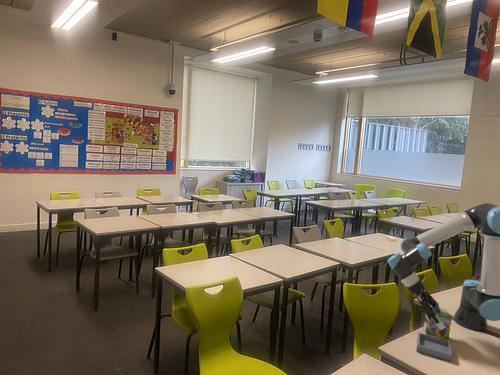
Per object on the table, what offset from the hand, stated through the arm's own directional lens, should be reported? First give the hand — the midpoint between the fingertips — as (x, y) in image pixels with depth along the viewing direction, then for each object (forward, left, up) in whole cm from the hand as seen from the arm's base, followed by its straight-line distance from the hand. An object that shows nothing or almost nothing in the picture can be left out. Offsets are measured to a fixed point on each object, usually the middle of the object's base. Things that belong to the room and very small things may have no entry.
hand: (443, 323), depth 173 cm
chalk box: (+3, 0, -7) cm, 7 cm away
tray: (+4, +13, -8) cm, 15 cm away
